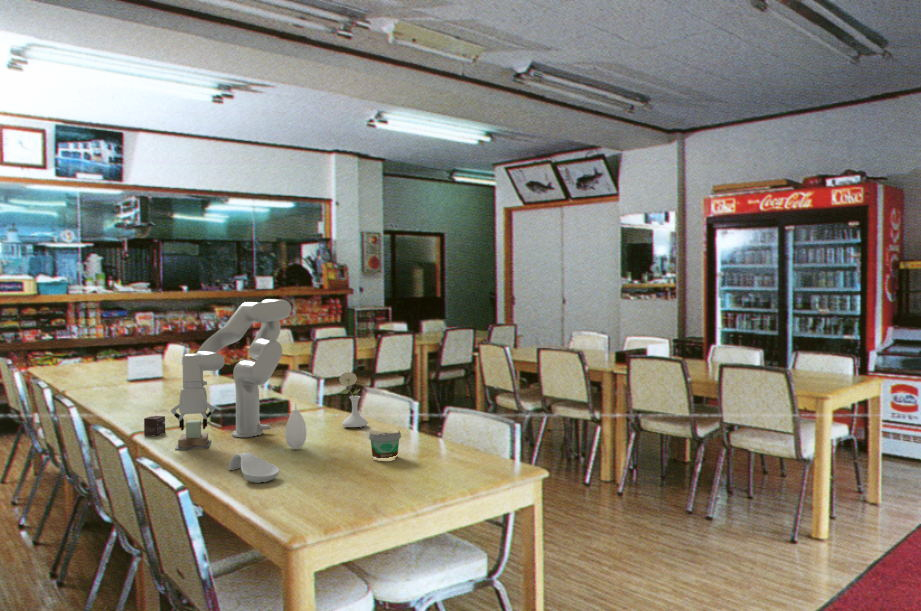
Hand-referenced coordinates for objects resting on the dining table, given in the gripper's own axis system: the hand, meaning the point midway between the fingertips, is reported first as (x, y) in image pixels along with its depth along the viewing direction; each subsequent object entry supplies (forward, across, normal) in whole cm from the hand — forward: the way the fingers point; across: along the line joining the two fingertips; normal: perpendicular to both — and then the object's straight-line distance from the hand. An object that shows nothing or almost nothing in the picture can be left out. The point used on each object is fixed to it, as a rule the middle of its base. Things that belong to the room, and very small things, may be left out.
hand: (193, 428), depth 259 cm
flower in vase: (+7, -65, -17) cm, 68 cm away
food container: (+7, -71, +40) cm, 82 cm away
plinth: (+7, 0, 0) cm, 7 cm away
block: (+3, 0, 0) cm, 3 cm away
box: (+7, +18, -24) cm, 31 cm away
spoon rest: (+7, -23, +48) cm, 54 cm away
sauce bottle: (+7, -39, +16) cm, 43 cm away
